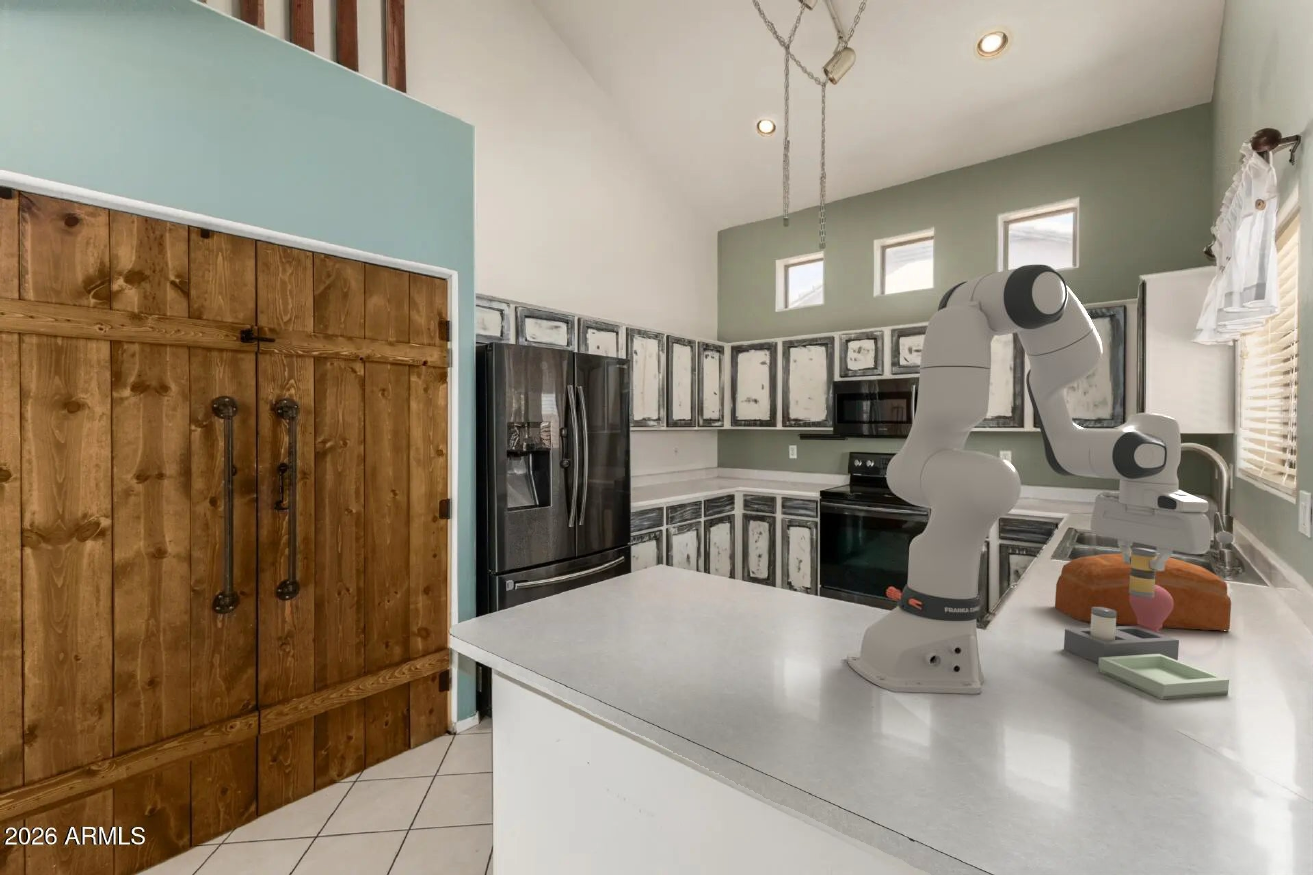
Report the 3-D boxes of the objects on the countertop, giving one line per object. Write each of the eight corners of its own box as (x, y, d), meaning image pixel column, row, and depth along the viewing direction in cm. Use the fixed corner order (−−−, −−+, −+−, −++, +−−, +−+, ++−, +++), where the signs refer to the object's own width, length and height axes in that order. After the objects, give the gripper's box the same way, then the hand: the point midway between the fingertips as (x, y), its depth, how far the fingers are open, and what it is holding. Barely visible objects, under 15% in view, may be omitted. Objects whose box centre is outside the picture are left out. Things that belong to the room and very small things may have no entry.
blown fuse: (1143, 598, 113) (1146, 551, 112) (1123, 592, 116) (1126, 547, 116) (1159, 597, 113) (1162, 551, 113) (1138, 592, 117) (1141, 547, 117)
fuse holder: (1102, 665, 108) (1104, 644, 108) (1063, 648, 116) (1064, 628, 116) (1177, 660, 112) (1179, 639, 112) (1135, 644, 120) (1136, 625, 120)
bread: (1047, 605, 146) (1051, 544, 146) (1187, 614, 144) (1191, 551, 143) (1083, 624, 133) (1087, 556, 132) (1238, 634, 130) (1243, 565, 130)
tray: (1163, 699, 95) (1164, 684, 95) (1098, 671, 106) (1098, 657, 105) (1228, 694, 98) (1229, 679, 98) (1158, 666, 109) (1159, 653, 109)
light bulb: (1179, 649, 119) (1183, 590, 118) (1139, 645, 120) (1143, 587, 120) (1157, 636, 126) (1160, 581, 125) (1119, 633, 127) (1122, 578, 127)
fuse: (1102, 660, 111) (1105, 613, 111) (1084, 652, 115) (1086, 606, 114) (1118, 659, 112) (1121, 612, 112) (1099, 651, 115) (1102, 606, 115)
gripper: (1084, 489, 124) (1080, 554, 124) (1192, 503, 104) (1187, 580, 104) (1108, 490, 125) (1104, 554, 126) (1219, 504, 105) (1214, 580, 106)
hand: (1142, 566), depth 115 cm, fingers closed on blown fuse, 4 cm apart
